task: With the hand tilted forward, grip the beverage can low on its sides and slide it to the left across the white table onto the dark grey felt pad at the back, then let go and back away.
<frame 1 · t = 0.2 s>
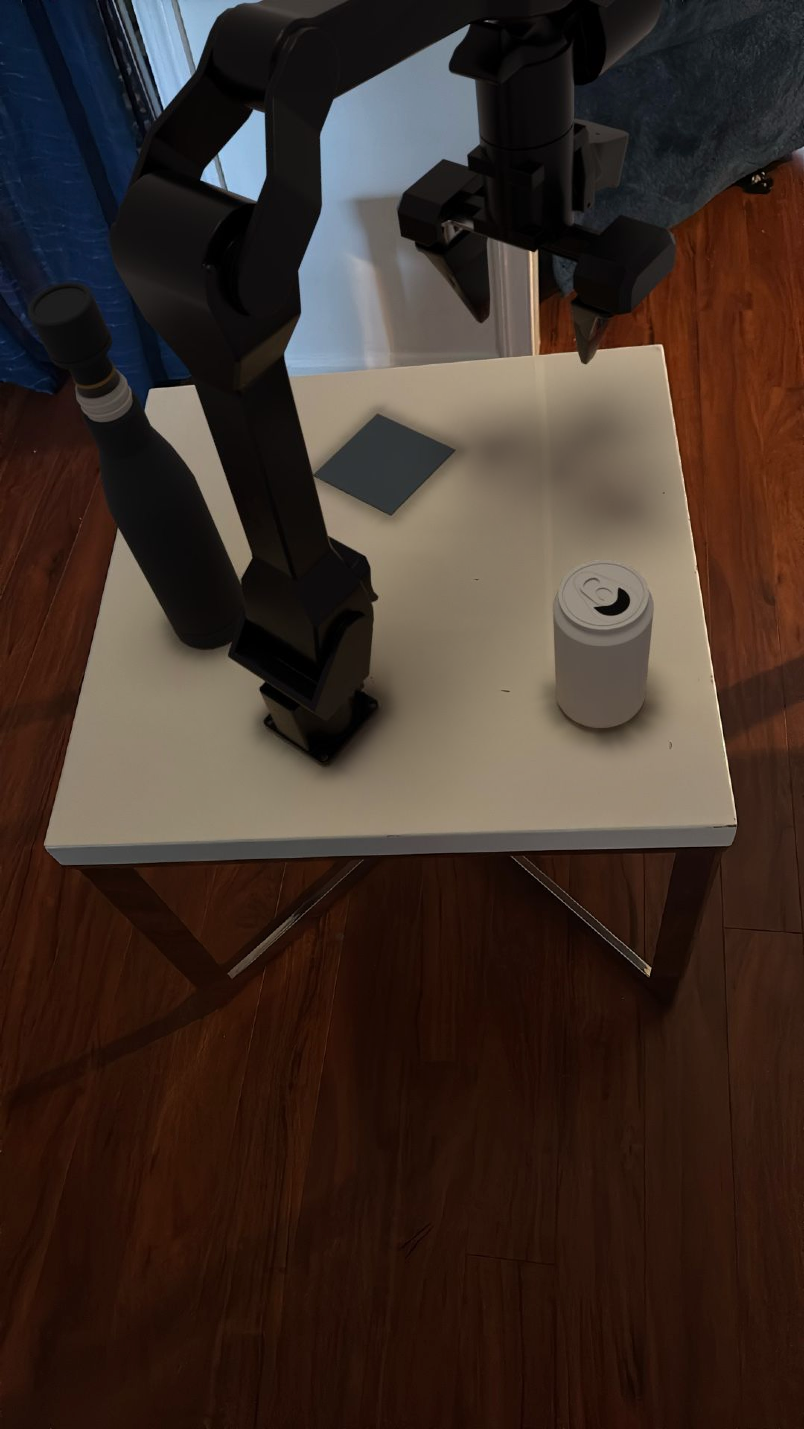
hand: (534, 339, 76), 15 cm above the table, tool pointing down, fingers open, 9 cm apart
beverage can: (599, 697, 76), on the table
felt pad: (383, 462, 92), on the table
wine bottle: (213, 619, 85), on the table
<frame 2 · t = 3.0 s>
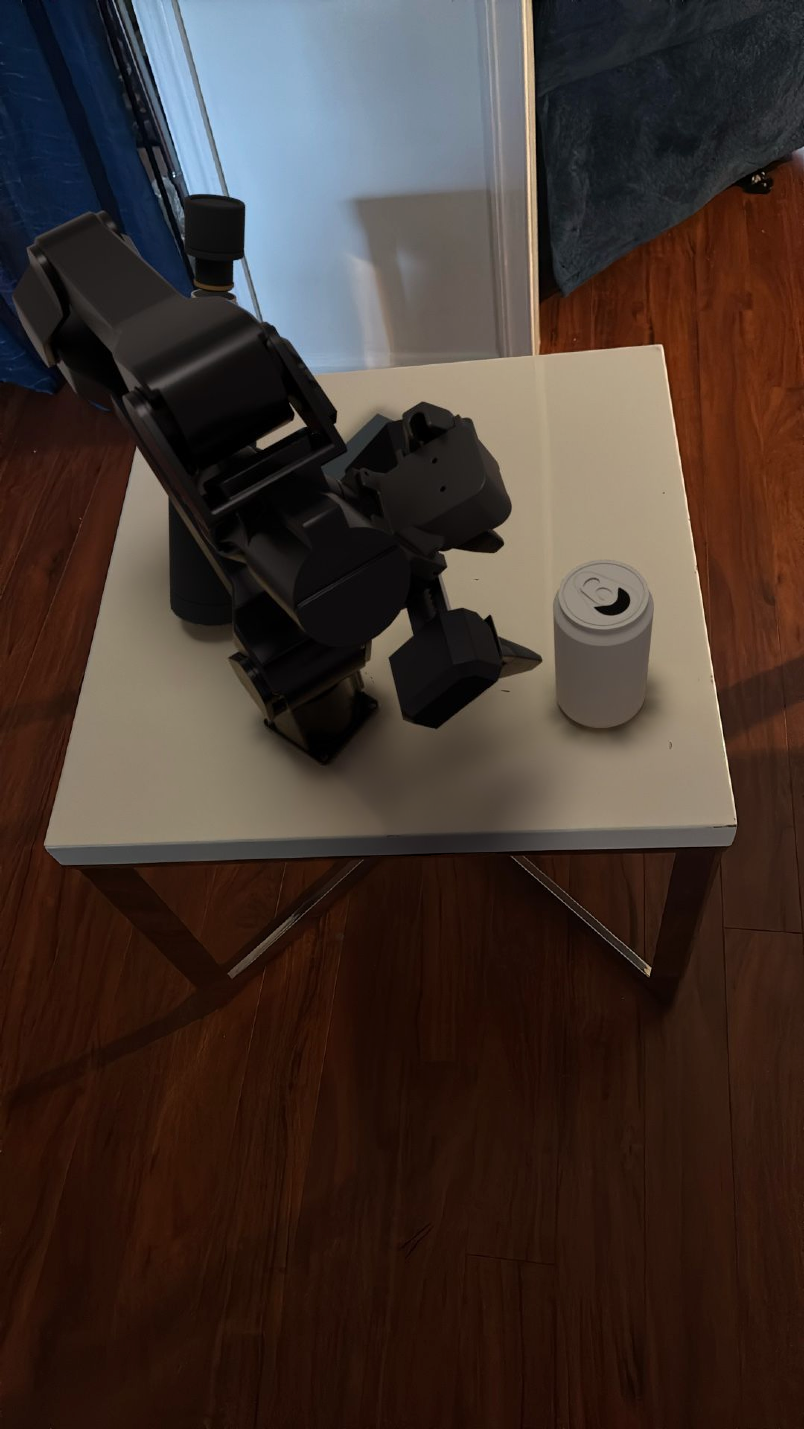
hand: (517, 603, 65), 13 cm above the table, tool tilted 45°, fingers open, 9 cm apart
wine bottle: (210, 607, 84), point 1 cm above the table, touching arm
everything else where it was.
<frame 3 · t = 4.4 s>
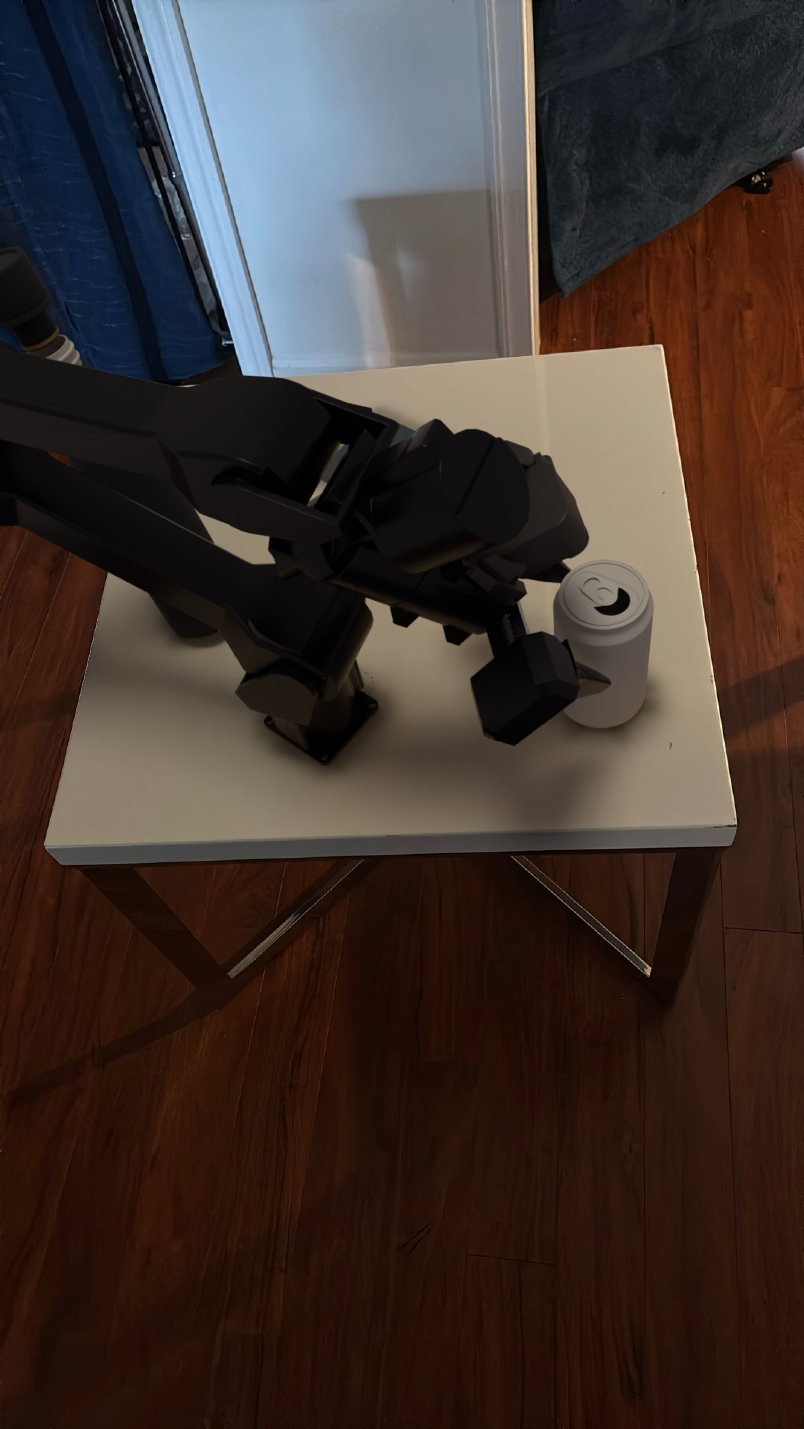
hand: (586, 629, 68), 9 cm above the table, tool tilted 45°, fingers open, 9 cm apart
wine bottle: (208, 612, 85), point 1 cm above the table
everything else where it was.
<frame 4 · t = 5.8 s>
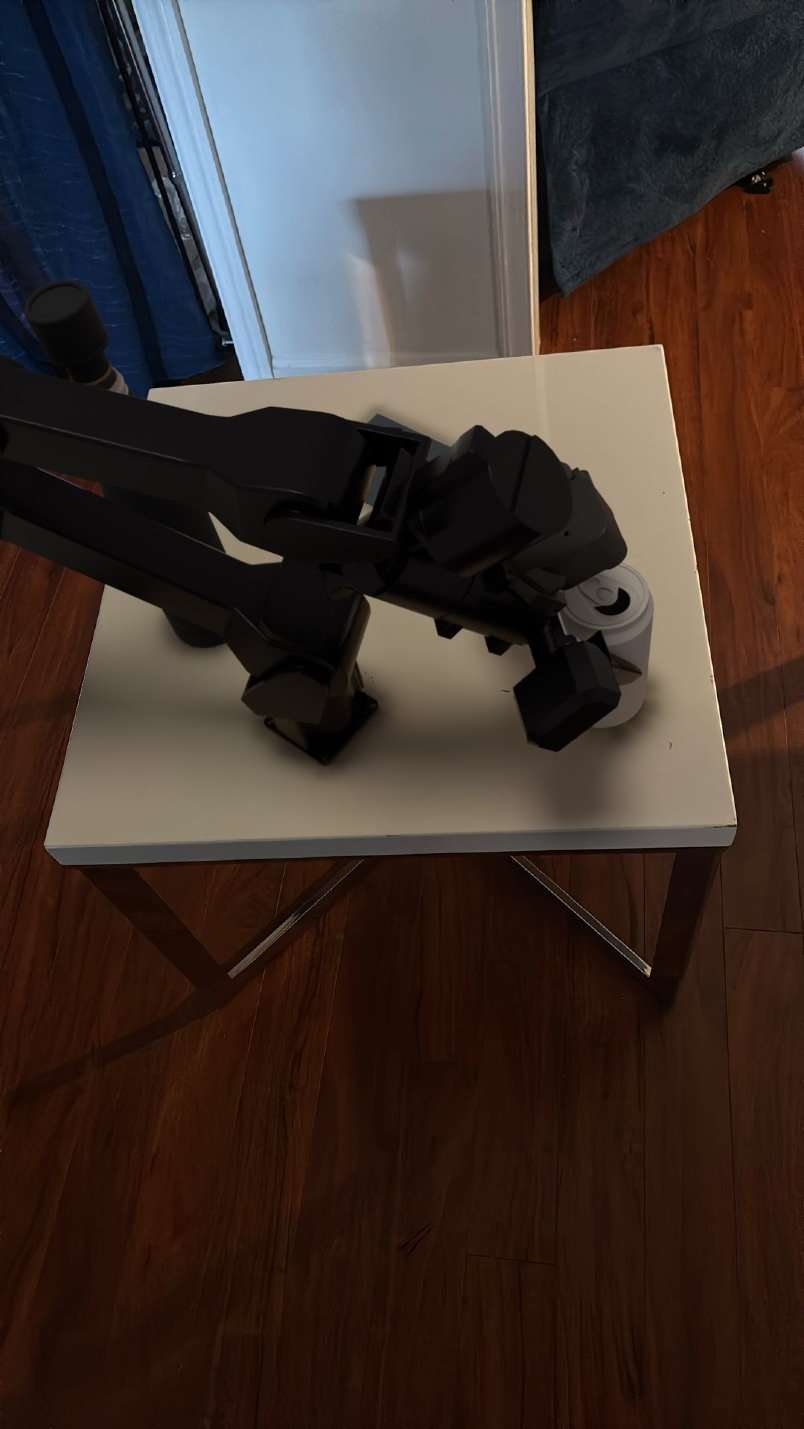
hand: (622, 638, 70), 7 cm above the table, tool tilted 45°, fingers closed on beverage can, 6 cm apart
beverage can: (599, 697, 76), on the table, touching gripper
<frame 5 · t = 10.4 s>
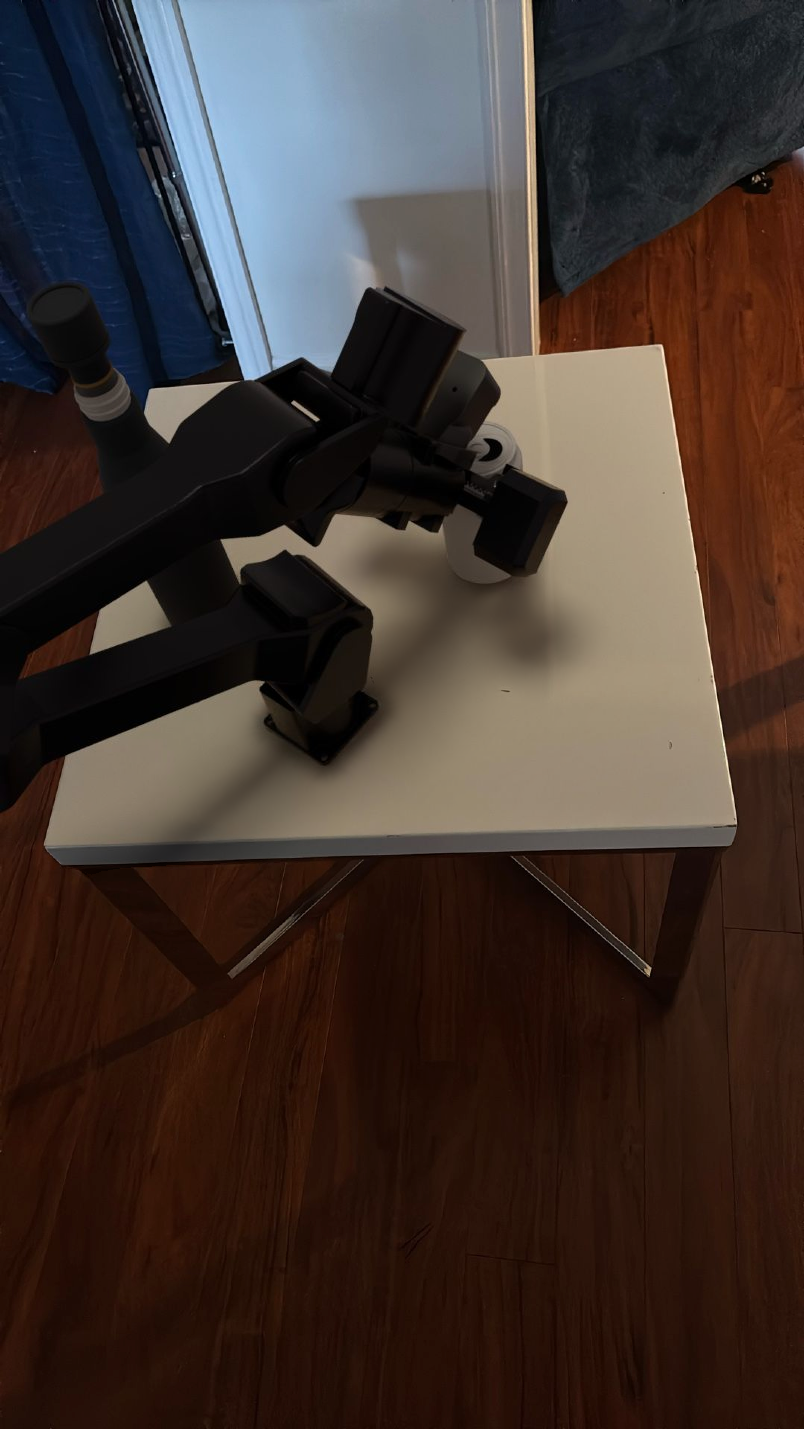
hand: (493, 489, 79), 7 cm above the table, tool tilted 45°, fingers closed on beverage can, 6 cm apart
beverage can: (487, 560, 84), on the table, touching gripper
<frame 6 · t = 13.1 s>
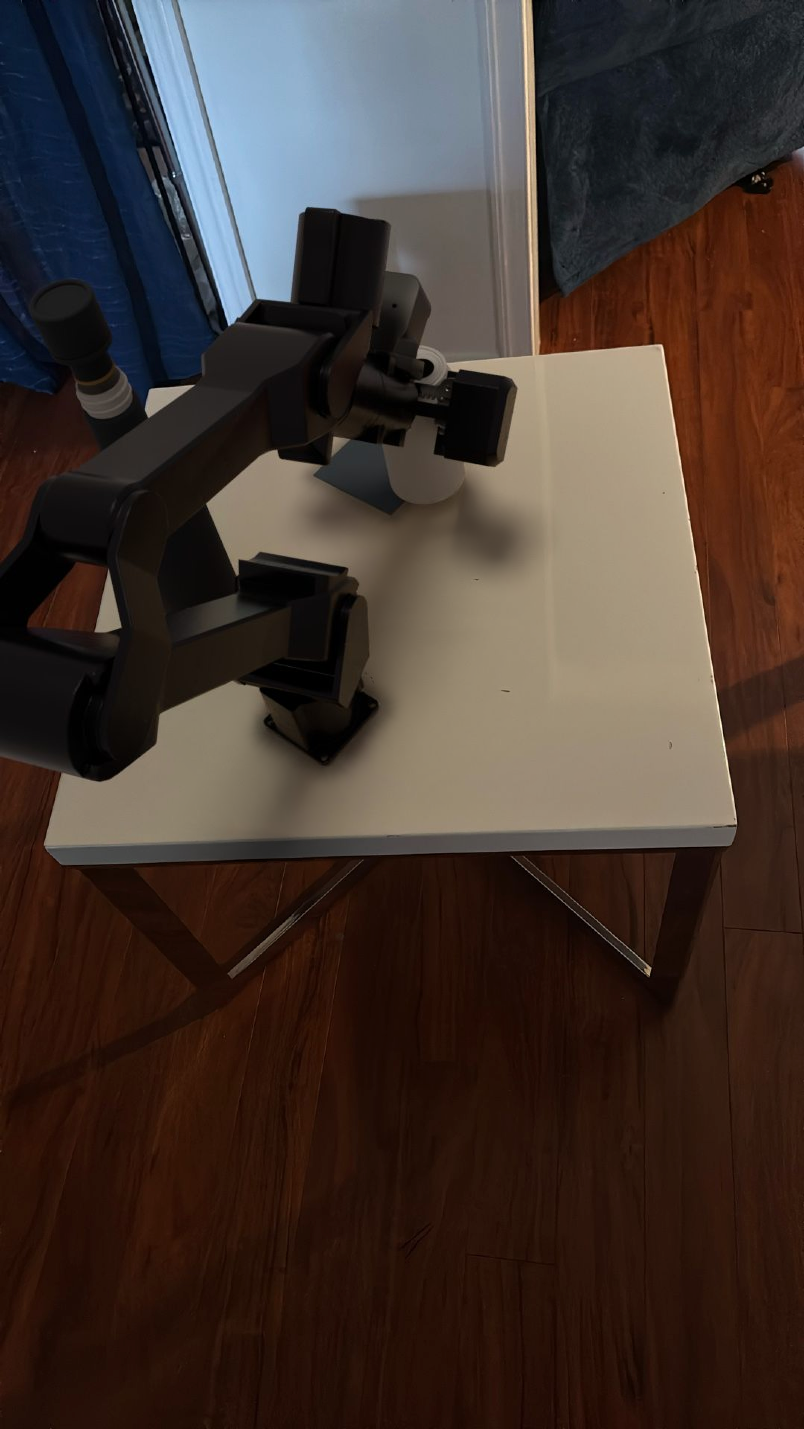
hand: (425, 411, 84), 7 cm above the table, tool tilted 45°, fingers closed on beverage can, 6 cm apart
beverage can: (428, 484, 89), point 1 cm above the table, touching gripper
when the fingers open (7 cm above the table, at t = 15.3 s): beverage can stays where it is, resting on felt pad.
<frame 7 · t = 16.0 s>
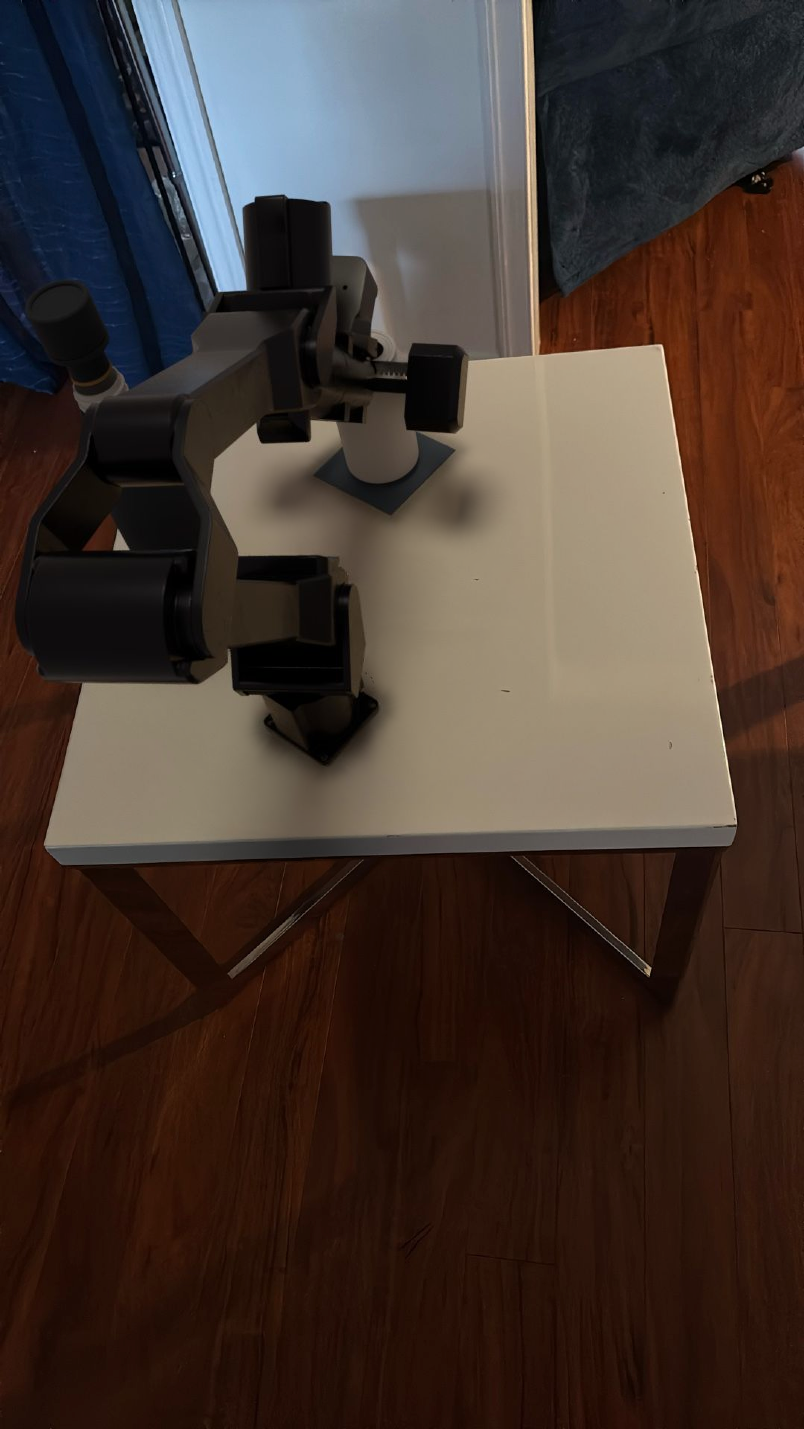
hand: (375, 391, 87), 7 cm above the table, tool tilted 45°, fingers open, 9 cm apart
beverage can: (384, 464, 92), resting on felt pad
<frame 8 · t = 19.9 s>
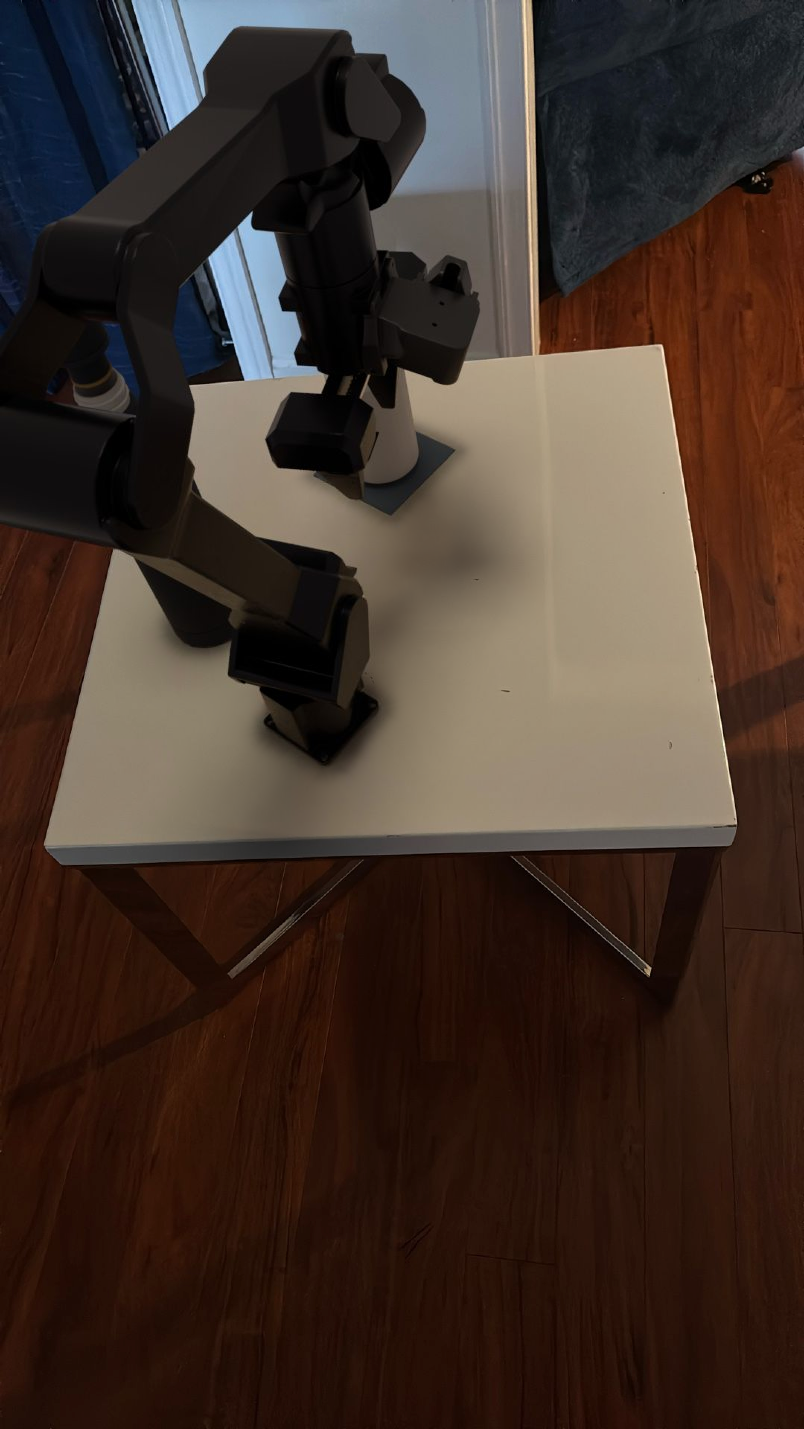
hand: (373, 451, 75), 12 cm above the table, tool pointing down, fingers open, 9 cm apart
at the end: beverage can 0.1 cm off-centre on the felt pad, point 0.0 cm above the felt pad's base; beverage can tilted 0°; the gripper is holding nothing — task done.
